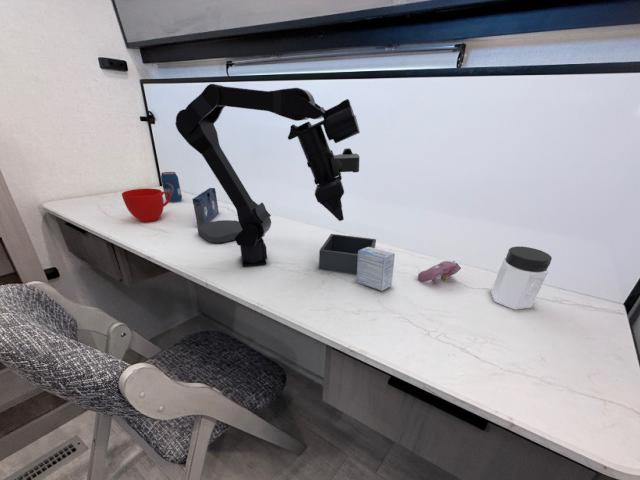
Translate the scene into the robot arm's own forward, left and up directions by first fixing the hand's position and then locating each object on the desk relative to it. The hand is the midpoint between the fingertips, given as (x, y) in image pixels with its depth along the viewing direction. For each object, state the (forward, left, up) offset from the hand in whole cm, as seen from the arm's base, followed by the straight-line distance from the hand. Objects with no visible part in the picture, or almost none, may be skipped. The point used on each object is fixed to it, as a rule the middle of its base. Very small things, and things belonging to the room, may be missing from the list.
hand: (340, 213), depth 77 cm
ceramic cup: (-54, +57, -15) cm, 80 cm away
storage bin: (+4, +2, -15) cm, 15 cm away
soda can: (-49, +83, -15) cm, 97 cm away
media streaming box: (-29, +33, -15) cm, 46 cm away
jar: (+34, -27, -15) cm, 46 cm away
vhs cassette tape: (-34, +51, -15) cm, 63 cm away
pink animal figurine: (+23, -14, -15) cm, 31 cm away
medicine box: (+5, -12, -15) cm, 20 cm away
